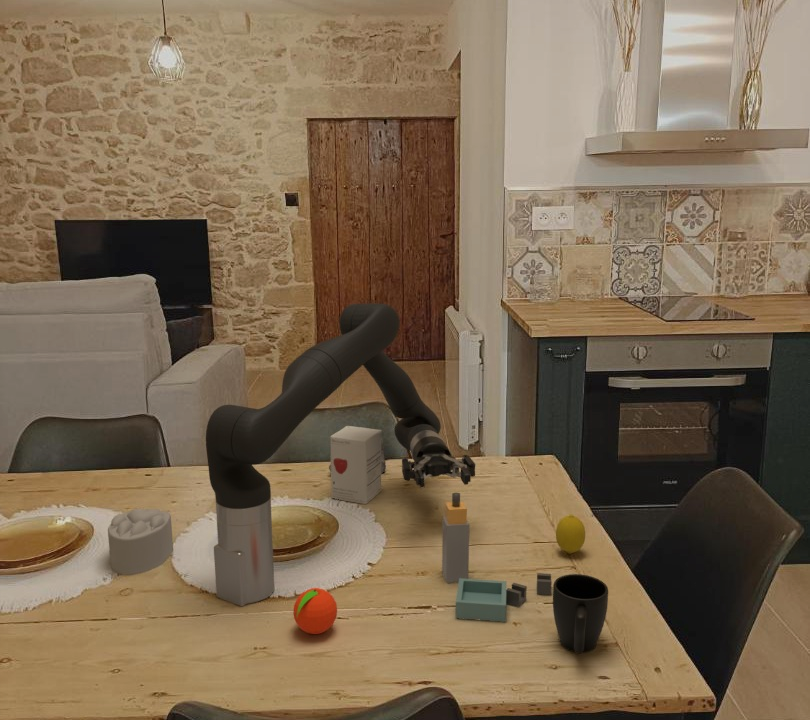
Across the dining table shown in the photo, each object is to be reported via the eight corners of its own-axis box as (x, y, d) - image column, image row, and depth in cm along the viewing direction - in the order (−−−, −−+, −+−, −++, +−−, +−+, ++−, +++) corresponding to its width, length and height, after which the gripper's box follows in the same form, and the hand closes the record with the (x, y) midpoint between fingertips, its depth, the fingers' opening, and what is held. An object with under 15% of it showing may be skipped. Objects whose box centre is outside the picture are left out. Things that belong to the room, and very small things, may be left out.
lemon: (584, 561, 151) (586, 522, 149) (554, 558, 152) (556, 519, 151) (584, 548, 156) (586, 510, 155) (555, 546, 158) (556, 508, 156)
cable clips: (535, 612, 133) (535, 598, 133) (505, 603, 136) (506, 589, 136) (557, 588, 141) (557, 575, 141) (528, 580, 144) (529, 567, 143)
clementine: (315, 651, 123) (314, 608, 121) (280, 637, 126) (278, 596, 125) (346, 626, 129) (345, 586, 128) (312, 614, 133) (311, 575, 131)
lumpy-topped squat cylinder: (178, 544, 159) (176, 503, 157) (154, 576, 146) (151, 532, 144) (127, 543, 159) (124, 502, 157) (98, 574, 147) (94, 530, 145)
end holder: (505, 622, 130) (506, 605, 130) (455, 618, 131) (455, 602, 131) (506, 597, 138) (506, 581, 138) (459, 594, 139) (459, 578, 139)
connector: (468, 581, 144) (469, 497, 140) (446, 583, 143) (447, 498, 140) (463, 571, 148) (464, 489, 144) (442, 572, 147) (442, 490, 144)
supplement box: (329, 499, 181) (328, 435, 178) (347, 485, 189) (346, 424, 186) (366, 505, 178) (365, 440, 174) (382, 491, 186) (382, 429, 183)
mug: (547, 668, 118) (549, 609, 116) (552, 625, 130) (555, 571, 127) (604, 675, 116) (608, 616, 114) (605, 631, 128) (608, 576, 126)
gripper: (396, 437, 167) (407, 465, 151) (463, 433, 169) (481, 460, 153) (396, 471, 169) (408, 502, 153) (463, 467, 171) (481, 497, 155)
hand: (444, 481), depth 153 cm, fingers open, 8 cm apart
